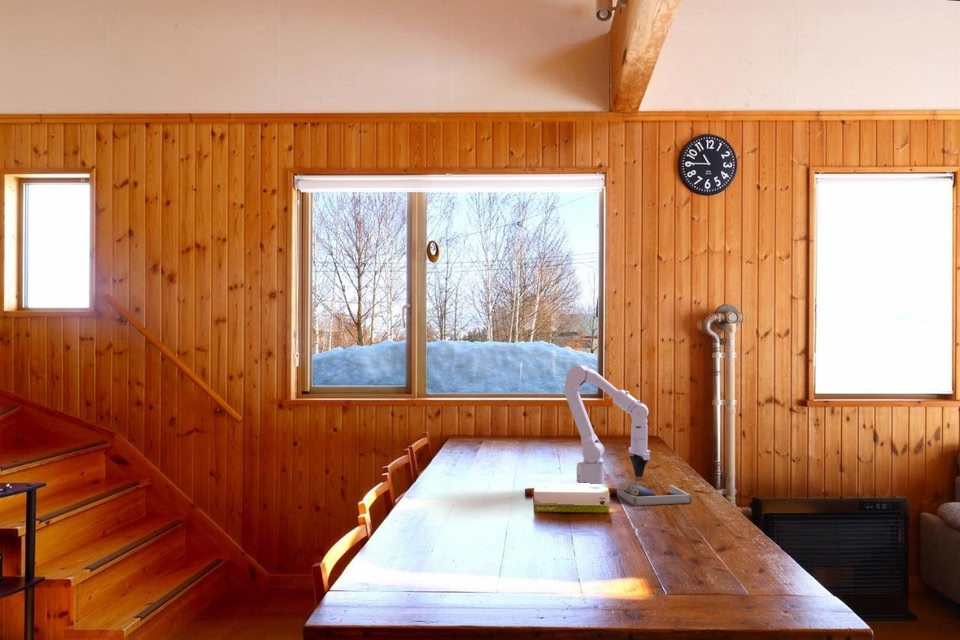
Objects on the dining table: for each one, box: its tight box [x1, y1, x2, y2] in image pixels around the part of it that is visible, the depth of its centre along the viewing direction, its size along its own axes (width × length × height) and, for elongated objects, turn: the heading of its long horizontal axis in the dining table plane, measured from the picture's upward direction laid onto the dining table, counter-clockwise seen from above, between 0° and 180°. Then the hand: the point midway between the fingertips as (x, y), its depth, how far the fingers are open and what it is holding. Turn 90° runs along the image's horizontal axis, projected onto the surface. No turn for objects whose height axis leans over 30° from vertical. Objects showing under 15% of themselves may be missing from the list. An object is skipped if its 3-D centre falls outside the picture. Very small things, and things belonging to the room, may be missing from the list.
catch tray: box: [616, 484, 693, 506], centre depth 247 cm, size 20×15×2 cm
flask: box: [618, 482, 657, 497], centre depth 246 cm, size 9×3×11 cm
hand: (638, 476), depth 260 cm, fingers closed
